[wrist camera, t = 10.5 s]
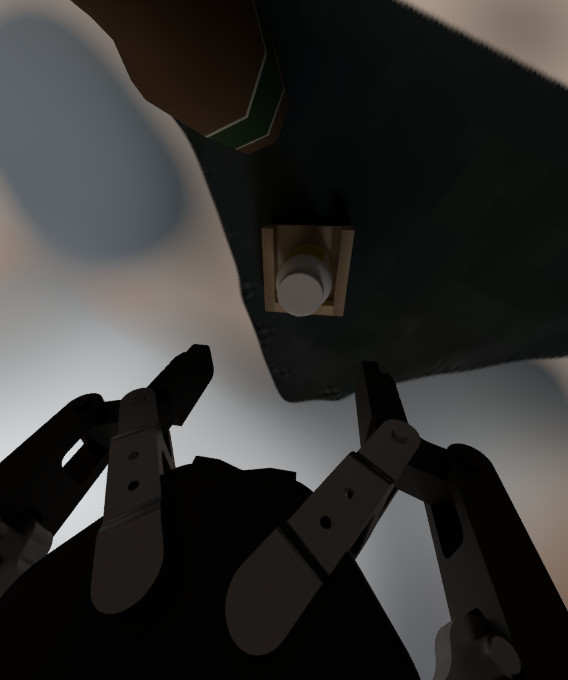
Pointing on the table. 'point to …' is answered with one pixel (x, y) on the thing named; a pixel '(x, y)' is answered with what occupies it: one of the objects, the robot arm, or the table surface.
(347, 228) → the u holder
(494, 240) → the table surface
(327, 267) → the supplement bottle
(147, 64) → the beer bottle
